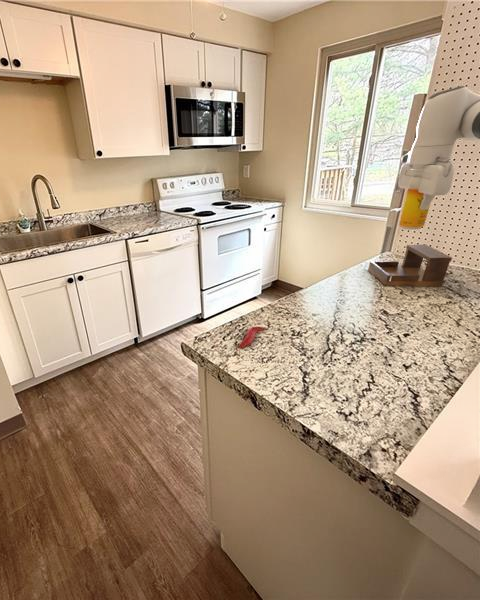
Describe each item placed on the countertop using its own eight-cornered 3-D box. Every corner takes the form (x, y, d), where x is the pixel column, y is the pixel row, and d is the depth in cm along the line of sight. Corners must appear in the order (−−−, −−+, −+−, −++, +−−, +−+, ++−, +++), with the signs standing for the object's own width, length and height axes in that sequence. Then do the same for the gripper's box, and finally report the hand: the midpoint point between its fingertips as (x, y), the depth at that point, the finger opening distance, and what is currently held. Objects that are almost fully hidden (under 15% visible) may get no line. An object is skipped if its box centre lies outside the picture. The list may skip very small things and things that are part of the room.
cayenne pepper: (258, 326, 84) (258, 319, 84) (272, 332, 81) (273, 326, 80) (227, 342, 79) (227, 335, 78) (241, 349, 75) (241, 343, 74)
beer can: (422, 230, 92) (437, 176, 85) (396, 229, 95) (409, 177, 89) (424, 226, 95) (439, 174, 89) (399, 224, 99) (412, 174, 93)
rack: (418, 270, 107) (425, 244, 104) (442, 286, 95) (452, 257, 91) (367, 270, 111) (373, 245, 107) (385, 285, 99) (392, 258, 95)
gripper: (468, 156, 77) (450, 213, 83) (423, 154, 95) (410, 201, 101) (438, 159, 79) (422, 214, 85) (399, 156, 97) (388, 202, 102)
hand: (415, 207), depth 93 cm, fingers closed on beer can, 6 cm apart
